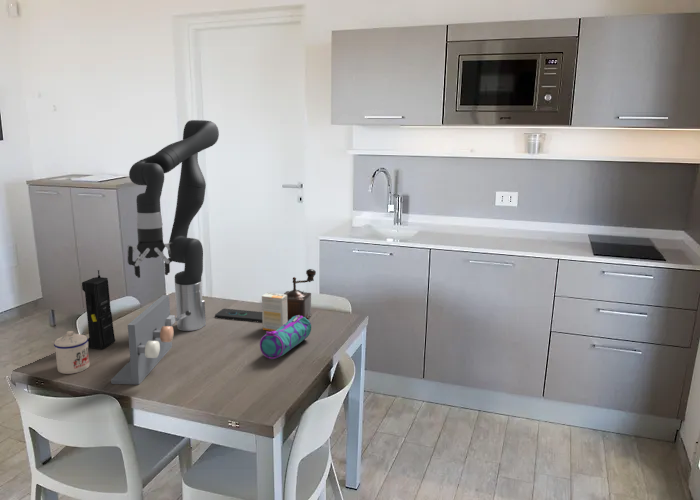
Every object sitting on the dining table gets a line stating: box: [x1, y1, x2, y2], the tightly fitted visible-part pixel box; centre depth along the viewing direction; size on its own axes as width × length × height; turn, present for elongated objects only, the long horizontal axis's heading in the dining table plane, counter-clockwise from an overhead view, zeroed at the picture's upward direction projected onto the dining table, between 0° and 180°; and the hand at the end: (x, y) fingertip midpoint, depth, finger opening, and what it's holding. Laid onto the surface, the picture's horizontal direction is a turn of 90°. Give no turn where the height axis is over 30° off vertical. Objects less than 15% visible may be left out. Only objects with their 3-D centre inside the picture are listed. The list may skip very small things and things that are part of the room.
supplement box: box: [261, 292, 288, 332], centre depth 196 cm, size 8×5×13 cm, turn 71°
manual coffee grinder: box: [283, 268, 317, 321], centre depth 209 cm, size 16×11×18 cm
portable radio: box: [81, 270, 116, 350], centre depth 177 cm, size 8×6×25 cm
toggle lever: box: [175, 310, 191, 322], centre depth 176 cm, size 6×2×2 cm, turn 88°
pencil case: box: [259, 315, 312, 360], centre depth 180 cm, size 21×9×10 cm, turn 158°
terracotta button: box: [153, 325, 175, 342], centre depth 165 cm, size 7×5×5 cm
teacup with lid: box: [53, 330, 90, 375], centre depth 164 cm, size 12×9×12 cm
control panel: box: [110, 294, 176, 385], centre depth 165 cm, size 10×27×18 cm, turn 178°
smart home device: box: [214, 308, 263, 323], centre depth 210 cm, size 8×2×20 cm
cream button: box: [137, 341, 160, 358], centre depth 154 cm, size 7×5×5 cm
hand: (152, 275), depth 175 cm, fingers open, 8 cm apart
